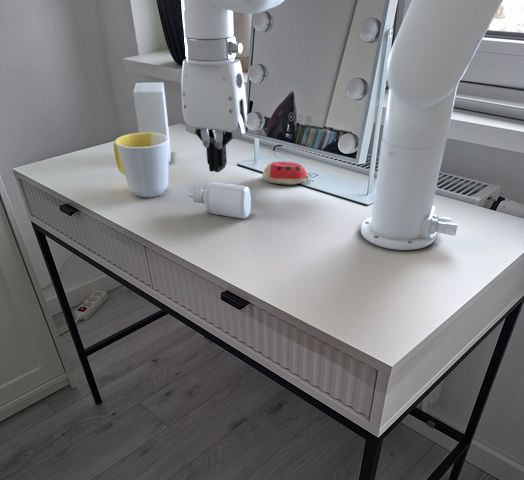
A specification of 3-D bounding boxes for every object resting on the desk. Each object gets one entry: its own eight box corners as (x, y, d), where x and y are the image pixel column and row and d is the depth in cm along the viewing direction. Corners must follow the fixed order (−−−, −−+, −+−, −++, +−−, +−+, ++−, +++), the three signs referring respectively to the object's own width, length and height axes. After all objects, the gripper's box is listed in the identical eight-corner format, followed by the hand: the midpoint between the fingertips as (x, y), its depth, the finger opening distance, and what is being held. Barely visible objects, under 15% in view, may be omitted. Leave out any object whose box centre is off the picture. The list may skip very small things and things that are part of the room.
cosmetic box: (145, 153, 122) (134, 82, 113) (173, 152, 123) (164, 81, 113) (143, 165, 116) (131, 90, 106) (172, 164, 116) (162, 89, 107)
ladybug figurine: (265, 173, 111) (265, 157, 108) (310, 176, 109) (311, 160, 107) (259, 185, 106) (259, 167, 103) (306, 188, 104) (306, 170, 102)
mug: (184, 193, 102) (178, 139, 96) (139, 206, 97) (130, 150, 91) (151, 175, 111) (143, 124, 104) (108, 186, 106) (97, 134, 99)
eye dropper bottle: (239, 202, 88) (179, 193, 91) (247, 222, 93) (189, 213, 96) (248, 182, 89) (188, 174, 93) (254, 203, 94) (197, 195, 98)
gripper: (264, 49, 78) (264, 167, 90) (179, 44, 83) (190, 158, 94) (244, 57, 73) (247, 182, 84) (155, 51, 77) (170, 171, 89)
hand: (217, 169), depth 89 cm, fingers closed
